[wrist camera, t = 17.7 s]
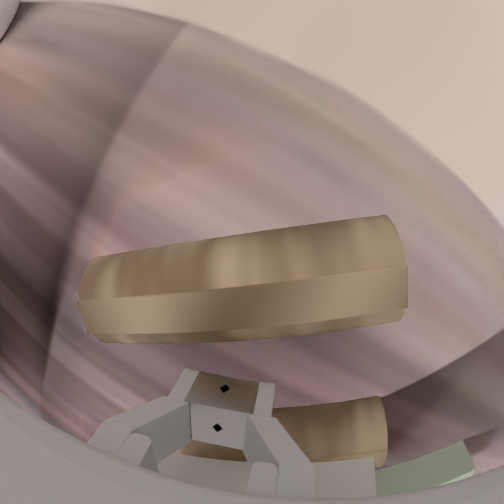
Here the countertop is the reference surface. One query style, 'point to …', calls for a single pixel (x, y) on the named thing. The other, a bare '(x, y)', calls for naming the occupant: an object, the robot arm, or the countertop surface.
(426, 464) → the block
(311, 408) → the rail
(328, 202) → the countertop surface
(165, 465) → the stone slab
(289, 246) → the rail
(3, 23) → the bottle
